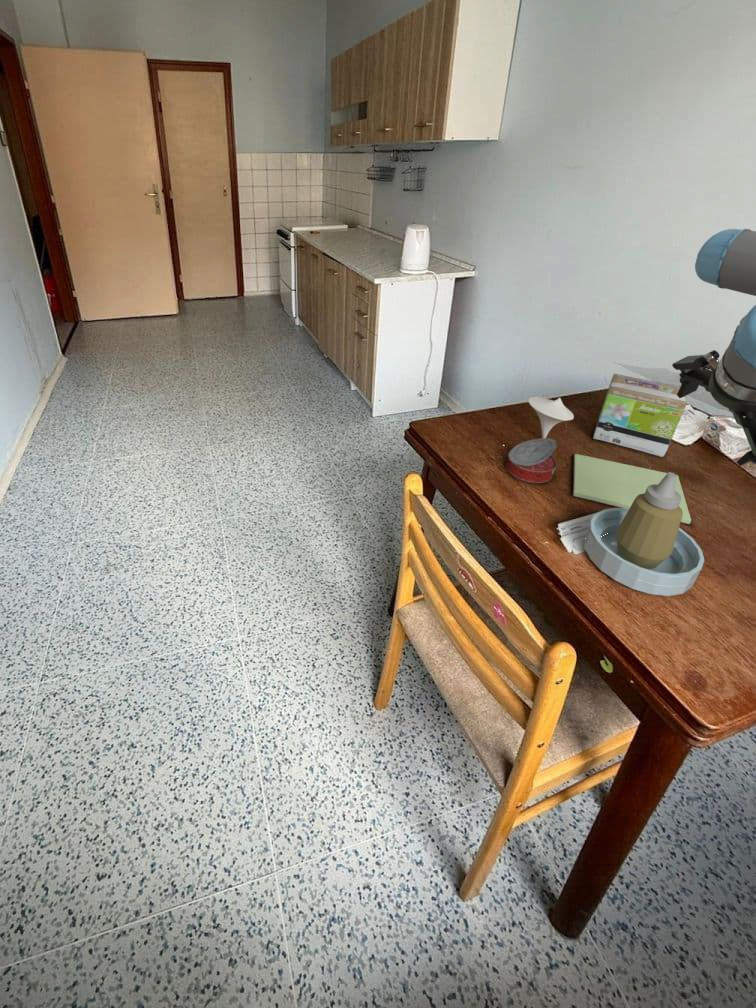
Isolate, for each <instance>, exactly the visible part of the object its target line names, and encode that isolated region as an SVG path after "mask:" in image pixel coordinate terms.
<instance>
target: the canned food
mask: <svg viewBox="0 0 756 1008" xmlns="http://www.w3.org/2000/svg"><path fill="white" fill-rule="evenodd" d="M557 447H558V443H557V440H556V439H553V438H550V437H546V438H542V437H540V438H532V439H530V440H526V441H522V442H521V443H519V444H516V445H515V446H514V447H513V448H511V450H510V451H509V452H508V455H507V460H506V464H505V467H506V470H507V471H508V473H509V474H510V475H512V476H513V477H515V478H516V479H519V480H521V481H523V482H528V483H532V484H541V483H547V482H549V481H551V480H552V479H553V477H554V473H555V469H556V466H557V462H556V460H555V458H554V457H553V456H552V454H553V452H554V451H555V450H556V449H557Z"/></svg>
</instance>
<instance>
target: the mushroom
mask: <svg viewBox="0 0 756 1008" xmlns="http://www.w3.org/2000/svg"><path fill="white" fill-rule="evenodd" d="M527 402H528V404H529V406H530V407H531V408H532V409H533V410H534V411H535V412H536V414H537V416H538V418H539V421H540V427H541V438H548V434H549V433H550V431H551V430H552V429H553V427H555V426H557V425H558V424H559V423H562V422H567V421H573V420H574V418H575V416H574V413H573V412H572V411H571V410H570V409H569V408H568V407H566V405H564V403H563V401H562V399H561V397H558V398H557V399H554V400H552V399H549V398H545V397H541V396H531V397H529V398H528V401H527Z"/></svg>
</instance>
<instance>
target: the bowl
mask: <svg viewBox="0 0 756 1008" xmlns="http://www.w3.org/2000/svg"><path fill="white" fill-rule="evenodd" d="M628 510H629V509H626V508H621V507H613V508H612V507H611V508H605V509H602V510H600V511H597V512H596V513H595V514H594V515H593V517H592V518H591V519H590V521H589V524H588V527H587V529H586V532H585V536H584V550H585V552H586V553H587V555H588V557H589V559H590V560H591V562H592V563H593V564H594V565H595V566H596V567H597V568H598V569H599V570H600V571H601V572H603V573H604V574H605V575H607V576H608V577H609V578H611V579H612V580H614V581H615V582H618V583H620V584H621V585H624V586H625V587H628V588H630V589H632V590H635V591H638V592H641V593H645V594H648V595H652V596H653V595H654V596H663V597H664V596H665V597H671V596H677V595H683V594H684V593H686V592H688V591H689V590H691V589H692V588H693V587H694V584H695V583H696V581H697V578H698V576H699V575H700V572H701V571H702V569H703V566H704V563H705V557H704V554H703V551H702V548H701V547H700V545H698V543H697V542H696V540H695V539H694V538H693V537H692V536H691V535H689V534H688V533H687V532H685V531H684V530H683V529H682V528H681V527H679V530H678V533H677V537H676V540H675V544H674V547H673V551H672V554H671V555H670V556H669V557H668V558H667V559H666V560H665V561H663V562H662V563H661V564H659V565H658V566H657V567H655V568H654V569H650V570H649V569H645V568H642V567H639V566H637V565H635V564H633V563H630V562H628V561H626V560H624V559H622V558H621V557H620V556H619V554H618V549H617V538H616V533H617V530H618V528H619V526H620V525H621V523H622V521H623V519H624V517H625V516H626V514H627V512H628ZM607 533H608V534H607ZM605 534H606V535H605ZM603 535H604V536H603ZM601 536H602V537H601ZM585 538H586V539H585Z"/></svg>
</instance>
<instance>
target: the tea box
mask: <svg viewBox="0 0 756 1008" xmlns="http://www.w3.org/2000/svg"><path fill="white" fill-rule="evenodd" d="M680 387H681V386H678V385H673V384H669V383H668V384H667V383H662V382H658V381H652V380H647V379H642V378H638V377H632V376H628V375H623V374H618V373H613V375H612V377H611V380H610V383H609V386H608V388H607V392H606V395H605V398H604V400H603V404H602V407H601V410H600V412H599V414H598V415H599V416H598V419H597V422H596V426H595V430H594V432H593V433H594V434H593V437H592V439H593V440H598V441H603V442H606V443H611V444H614V445H618V446H621V447H625V448H628V449H633V450H635V451H639V452H642V453H646V454H650V455H653V456H657V457H660V458H663V457H665V455H666V453H667V451H668V449H669V446H670V444H671V441H672V439H673V437H674V435H675V433H676V429H678V428H677V427H678V425H679V423H680V421H681V418H682V416H683V414H684V411H685V409H686V407H687V395H686V396H684V397H682V398H679V397H678V396H677V393H678V391H679V389H680Z"/></svg>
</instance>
